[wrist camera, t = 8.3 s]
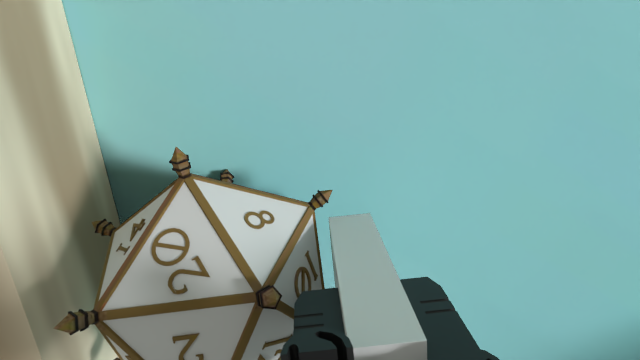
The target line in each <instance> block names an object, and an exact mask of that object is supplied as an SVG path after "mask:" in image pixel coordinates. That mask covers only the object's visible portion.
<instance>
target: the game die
mask: <svg viewBox="0 0 640 360" xmlns="http://www.w3.org/2000/svg"><path fill="white" fill-rule="evenodd" d="M188 161H189V156H188V155H185V154H184V153H183V152H182V151H181V150H179V149H178V148H177V147H176V148H175V151H174V154H173V157H172V159H171V160H170V161H169V163H172V165H173V168H172V170H173V171H176V173H177V174H178V179H176V180H175V181H174V182H173V183H172V184H170V185H169V186H168V187H167V188H165V189H164V190H163V191H162V192H160V193H159V194H158V195H157V196H156V197H154V198H153V199H152V200H151V201H149V202H148V203H147V204H146V205H144V206H143V207H142V208H141V209H140V210H138V211H137V212H136V213H135V214H133V215H132V216H131V217H130V218H128V219H127V220H126V221H125V222H124V223H122V224H121V225H120V226H119V227H117V228H116V227H114V226H113V224H112V222H107V220H106V219H103V220H99V221H93V222H92V224H93V226H94V229H95V233H100V234H101V236H110V237H111V239H110V243H109V247H108V251H107V255H106V259H105V263H104V267H103V271H102V275H101V280H100V284H99V288H98V292H97V296H96V300H95V304H94V308H93V310H91V311H84V310H82V309H79V310H78V312H72V311H68V315H67V316H66V317H65V318H64V319H63V320H62V321H60V322H59V323H58V324H57V325H56V326H55V327H54V328H53V329H56V330H60V331H64V332H67V333H69V334H70V335H73V334H74V333H76V332H78V331H79V330H80V332H81V331H84V330H85V329H87V328H89V325H96V327H97V328H98V330H99V331H100V332H101V334H102V335H103V336H104V338H105V339H106V341H107V342H108V343H109V345H110V346H111V348H112V349H113V350H114V352H115V353H116V354H117V356H118V357H119V358H118V357H117V358H115V359H114V360H281V358H280V354H281V351H282V348H283V345H284V344H285V343H286V342H287V341H288V340H289V339H290V337H291V336H293V330H294V305H295V302H296V300H297V299H298V297H299V296H300V294H301V293H302V291H310V290H320V289H325V288H324V281H323V273H322V265H321V258H320V250H319V243H318V235H317V227H316V220H315V212H314V211H315V209H316V208H319V207H323V206H322V205H324V204H325V203H326V202H327V203H328V199H329V197H330V195H331V192H332V190H326V191H319V190H318V193H317V194H316V195H315V196H314V195H313V198H312V200H311V201H310V202H308V203H307V202H303V201H299V200H295V199H291V198H287V197H283V196H279V195H275V194H271V193H267V192H263V191H259V190H255V189H251V188H247V187H243V186H239V185H235V184H231V183H233V180H232V179H233V178H234V176H233V175H232V174H231V173H230V172H229V171H228V170H227V169H226V170H225V171H224V172H223V173H221V175H220V181H219V180H215V179H211V178H207V177H203V176H199V175H195V174H191V173H190V172H189V168H191V165H190V162H188Z"/></svg>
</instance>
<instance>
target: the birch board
mask: <svg viewBox="0 0 640 360" xmlns="http://www.w3.org/2000/svg"><path fill="white" fill-rule="evenodd" d="M103 219H106V220H107V222H112V224H113V226H114V227H116V228H117V227H119V226H120V221H119V217H118V214H117V210H116V206H115V202H114V198H113V195H112V191H111V187H110V183H109V179H108V176H107V172H106V168H105V164H104V160H103V157H102V153H101V149H100V145H99V141H98V138H97V134H96V130H95V126H94V122H93V119H92V115H91V111H90V107H89V103H88V99H87V96H86V92H85V88H84V84H83V80H82V77H81V73H80V69H79V65H78V61H77V58H76V54H75V50H74V46H73V42H72V39H71V35H70V31H69V27H68V23H67V20H66V16H65V12H64V8H63V4H62V1H61V0H0V360H114V359H115V358H117V357H118V356H117V354H116V353H115V352H114V350H113V349H112V348H111V346H110V345H109V343H108V342H107V341H106V339H105V338H104V336H103V335H102V334H101V332H100V331H99V330H98V328H97V327H96V325H89V328H87V329H85V330H84V331H81V332H80V330H79V331H78V332H76V333H74V334H73V335H70V334H69V333H67V332H64V331H60V330H56V329H53V328H54V327H55V326H56V325H57V324H58V323H59V322H60V321H62V320H63V319H64V318H65V317H66V316H67V315H68V311H72V312H78V310H79V309H82V310H84V311H91V310H93V308H94V304H95V300H96V296H97V292H98V288H99V284H100V280H101V275H102V271H103V267H104V263H105V259H106V255H107V251H108V247H109V243H110V239H111V237H110V236H101V234H100V233H95V229H94V226H93V224H92V222H93V221H99V220H103ZM118 358H119V357H118Z"/></svg>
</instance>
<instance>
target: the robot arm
mask: <svg viewBox="0 0 640 360" xmlns="http://www.w3.org/2000/svg"><path fill="white" fill-rule="evenodd" d="M329 227H330V238H331V248H332V258H333V269H334V279H335V288H329V289H320V290H310V291H302V293H301V294H300V296H299V297H298V299H297V300H296V302H295V305H294V330H293V336H291V337H290V339H289V340H288V341H287V342H286V343H285V344H284V345H283V348H282V351H281V354H280V358H281V360H499V359H498V358H497V357H495V356H494V355H492V354H490V353H488V352H487V351H485V350H481V349H480V348H479V347H478V345H477V343H476V342H475V340H474V339H473V337H472V335H471V334H470V332H469V331H468V329H467V327H466V326H465V324H464V323H463V321H462V319H461V318H460V316H459V315H458V313H457V311H455V308H454V306H453V305H452V303H451V302H450V301H449V300H448V297H447V295H446V294H445V292H444V290H443V289H442V287H441V286H440V285H438V284H437V283H435V282H434V281H432V280H431V279H430V278H428V277H421V278H411V279H402V280H400V279H399V277H398V275H397V272H396V270H395V268H394V266H393V264H392V261H391V259H390V257H389V255H388V252H387V250H386V248H385V246H384V243H383V241H382V239H381V237H380V234H379V232H378V230H377V228H376V226H375V223H374V221H373V219H372V217H371V214H370V213H366V214H356V215H347V216H337V217H329Z"/></svg>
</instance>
